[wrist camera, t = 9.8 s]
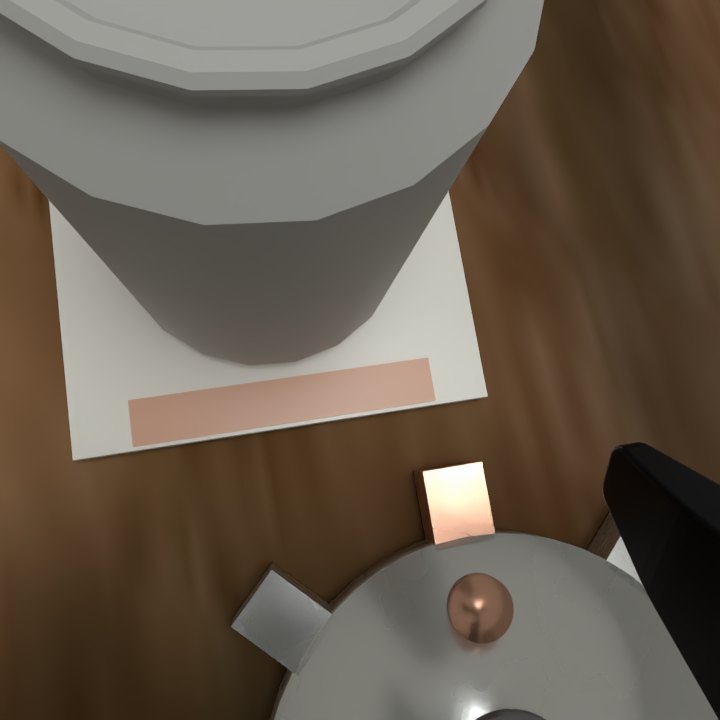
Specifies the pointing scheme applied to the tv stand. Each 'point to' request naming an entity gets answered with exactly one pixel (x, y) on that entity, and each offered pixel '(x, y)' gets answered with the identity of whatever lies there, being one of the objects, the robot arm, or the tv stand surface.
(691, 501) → the robot arm
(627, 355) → the tv stand surface
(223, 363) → the pad
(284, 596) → the sprocket
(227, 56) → the can
